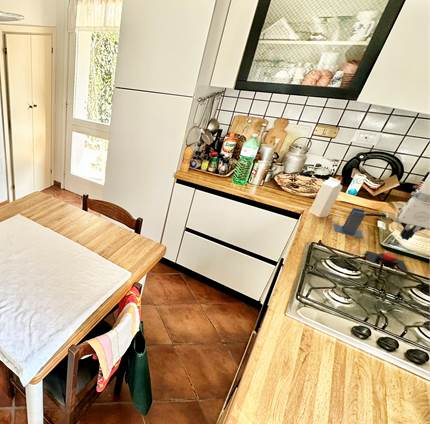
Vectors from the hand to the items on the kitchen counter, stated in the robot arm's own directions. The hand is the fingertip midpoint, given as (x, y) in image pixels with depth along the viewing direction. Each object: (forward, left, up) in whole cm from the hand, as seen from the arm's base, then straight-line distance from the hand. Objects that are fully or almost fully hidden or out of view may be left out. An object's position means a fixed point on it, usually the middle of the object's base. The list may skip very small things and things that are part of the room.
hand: (404, 238), depth 124 cm
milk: (+24, -36, -14) cm, 46 cm away
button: (+1, +1, -10) cm, 10 cm away
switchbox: (+1, +1, -14) cm, 14 cm away
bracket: (+12, -23, -14) cm, 30 cm away
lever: (+7, -23, -3) cm, 25 cm away
